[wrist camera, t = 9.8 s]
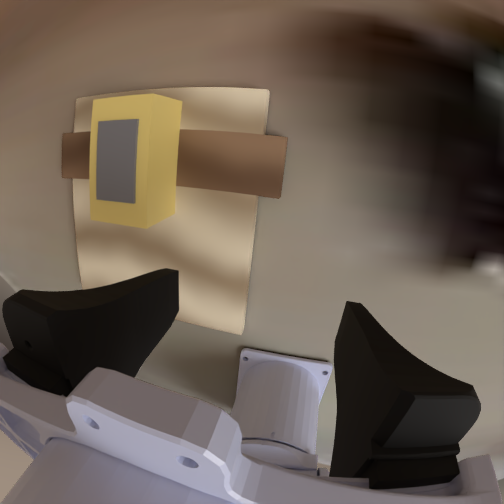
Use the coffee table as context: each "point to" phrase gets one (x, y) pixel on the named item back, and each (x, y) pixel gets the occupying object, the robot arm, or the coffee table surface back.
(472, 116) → the coffee table surface
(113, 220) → the stud finder
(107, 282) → the subfloor
